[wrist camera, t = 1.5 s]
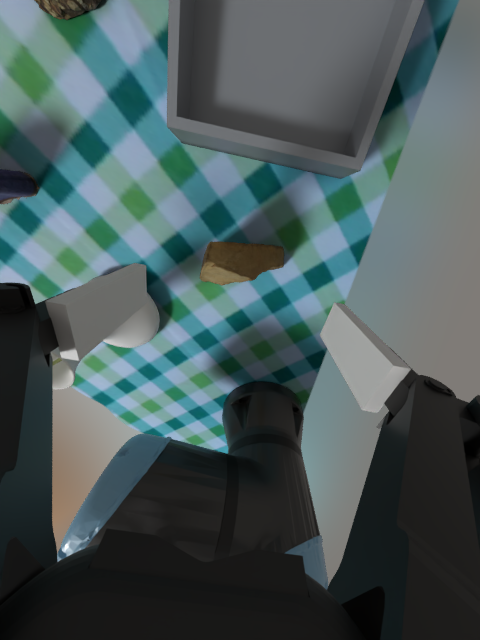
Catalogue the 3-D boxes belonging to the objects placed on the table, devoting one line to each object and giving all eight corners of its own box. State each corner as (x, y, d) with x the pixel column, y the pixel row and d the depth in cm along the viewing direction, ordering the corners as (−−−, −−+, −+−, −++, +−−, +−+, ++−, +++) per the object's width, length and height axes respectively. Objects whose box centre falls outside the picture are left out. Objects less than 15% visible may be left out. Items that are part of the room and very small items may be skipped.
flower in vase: (169, 287, 29) (-93, 517, 7) (158, 348, 34) (-13, 595, 12) (75, 256, 28) (-639, 420, 5) (78, 325, 33) (-285, 555, 11)
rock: (307, 230, 23) (224, 190, 20) (305, 294, 19) (203, 255, 17) (264, 280, 32) (203, 257, 30) (257, 329, 29) (187, 308, 26)
